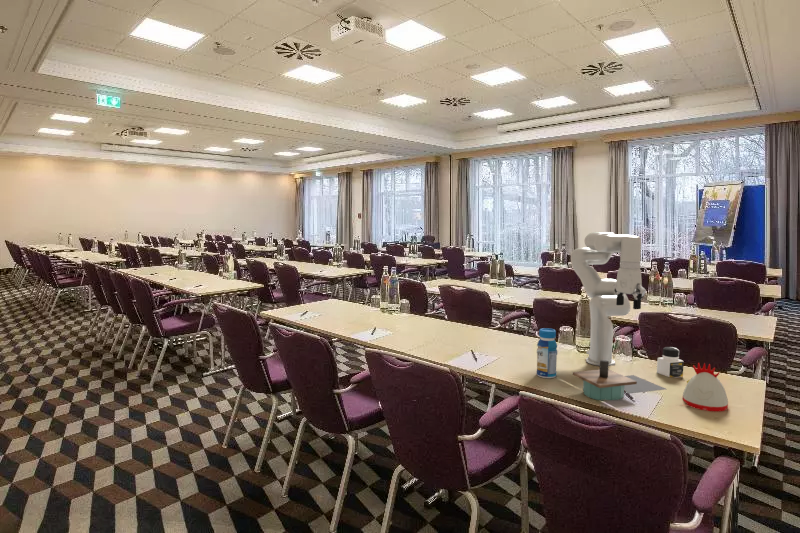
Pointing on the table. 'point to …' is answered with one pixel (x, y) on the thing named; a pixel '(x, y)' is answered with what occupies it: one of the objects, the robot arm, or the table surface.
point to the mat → (641, 385)
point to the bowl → (603, 392)
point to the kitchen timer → (705, 391)
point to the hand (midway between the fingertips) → (628, 307)
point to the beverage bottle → (546, 353)
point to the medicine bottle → (670, 363)
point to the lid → (604, 377)
